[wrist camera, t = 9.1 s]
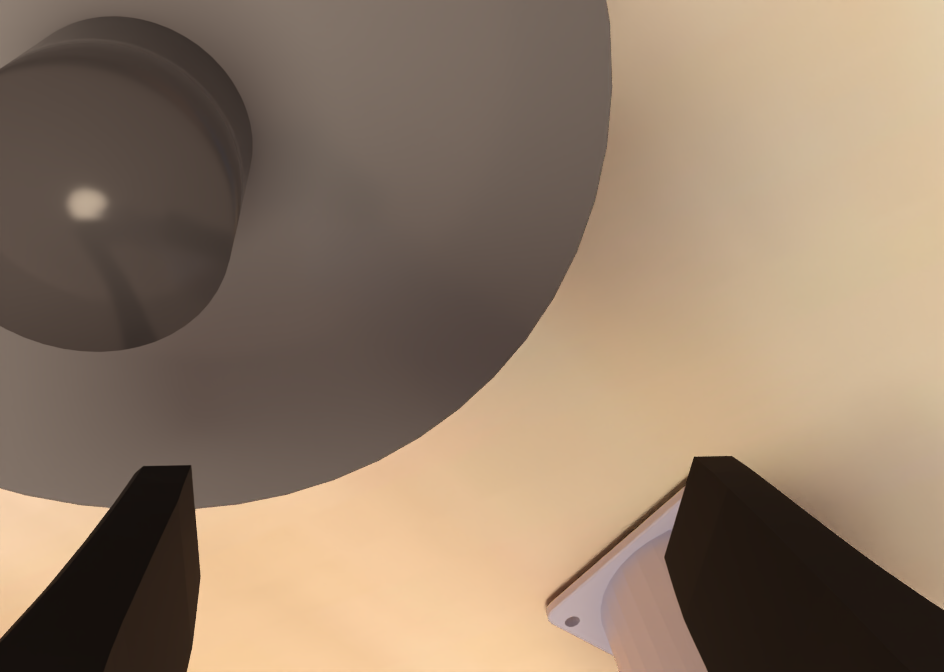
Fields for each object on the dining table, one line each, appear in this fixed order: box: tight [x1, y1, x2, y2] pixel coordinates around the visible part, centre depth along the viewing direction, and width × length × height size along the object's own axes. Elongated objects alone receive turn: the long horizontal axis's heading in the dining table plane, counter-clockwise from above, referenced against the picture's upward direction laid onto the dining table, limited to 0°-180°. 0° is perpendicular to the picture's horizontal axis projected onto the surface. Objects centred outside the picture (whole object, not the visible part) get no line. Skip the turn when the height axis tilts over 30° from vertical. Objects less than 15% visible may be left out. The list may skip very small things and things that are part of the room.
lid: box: [0, 0, 612, 509], centre depth 10 cm, size 13×13×4 cm
